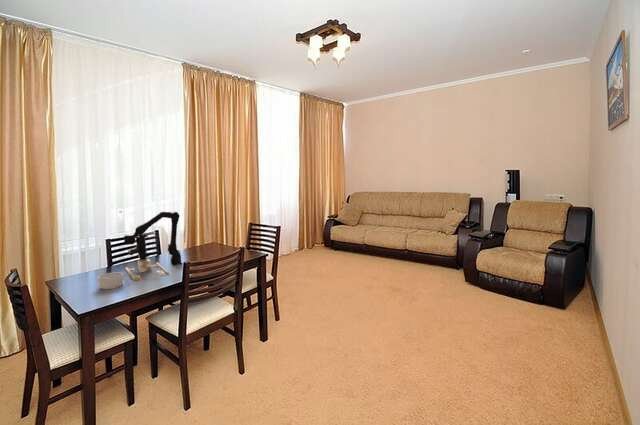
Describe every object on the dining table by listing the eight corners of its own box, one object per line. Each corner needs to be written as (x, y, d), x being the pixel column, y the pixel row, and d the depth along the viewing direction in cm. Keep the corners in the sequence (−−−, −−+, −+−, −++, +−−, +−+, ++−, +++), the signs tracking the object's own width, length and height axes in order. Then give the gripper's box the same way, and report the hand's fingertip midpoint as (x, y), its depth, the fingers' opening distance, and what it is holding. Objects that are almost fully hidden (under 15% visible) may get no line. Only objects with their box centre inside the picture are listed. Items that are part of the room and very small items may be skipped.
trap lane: (157, 264, 251) (157, 262, 251) (168, 274, 226) (168, 272, 226) (125, 269, 238) (125, 267, 238) (133, 281, 213) (133, 278, 213)
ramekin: (119, 281, 213) (118, 270, 212) (127, 285, 205) (126, 274, 204) (95, 287, 203) (94, 276, 202) (103, 291, 194) (102, 280, 194)
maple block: (149, 268, 241) (148, 258, 240) (151, 270, 236) (150, 260, 235) (138, 269, 237) (137, 260, 236) (140, 272, 232) (139, 262, 231)
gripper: (126, 242, 242) (127, 263, 244) (130, 247, 227) (132, 269, 229) (143, 240, 249) (144, 261, 251) (148, 245, 234) (150, 266, 236)
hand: (142, 264), depth 241 cm, fingers closed
